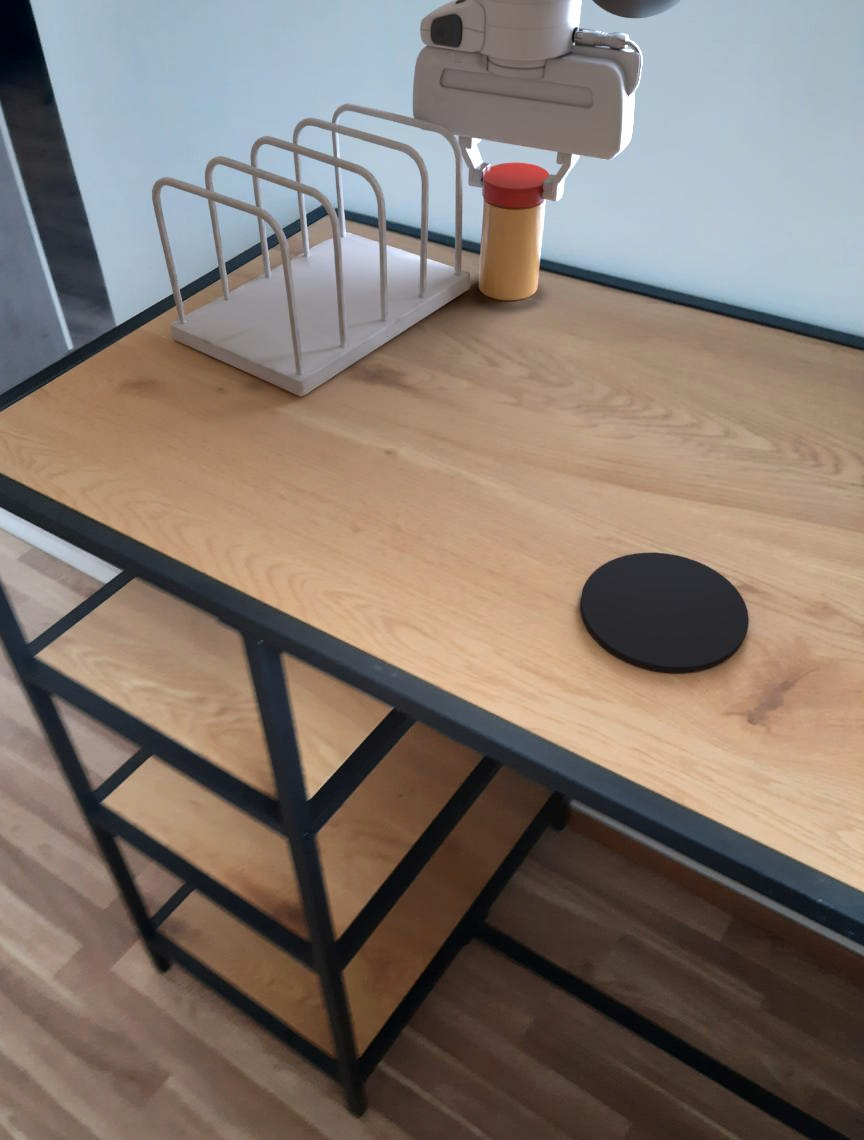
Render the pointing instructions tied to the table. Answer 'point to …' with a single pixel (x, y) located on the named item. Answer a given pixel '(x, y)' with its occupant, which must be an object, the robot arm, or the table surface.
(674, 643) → the black coaster
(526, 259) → the jar
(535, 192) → the lid
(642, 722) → the table surface
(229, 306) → the file sorter
